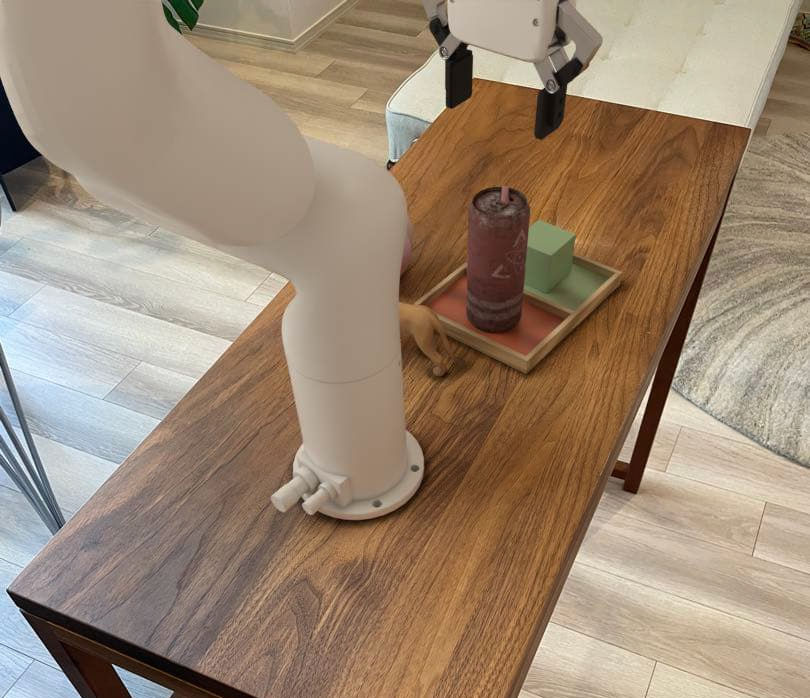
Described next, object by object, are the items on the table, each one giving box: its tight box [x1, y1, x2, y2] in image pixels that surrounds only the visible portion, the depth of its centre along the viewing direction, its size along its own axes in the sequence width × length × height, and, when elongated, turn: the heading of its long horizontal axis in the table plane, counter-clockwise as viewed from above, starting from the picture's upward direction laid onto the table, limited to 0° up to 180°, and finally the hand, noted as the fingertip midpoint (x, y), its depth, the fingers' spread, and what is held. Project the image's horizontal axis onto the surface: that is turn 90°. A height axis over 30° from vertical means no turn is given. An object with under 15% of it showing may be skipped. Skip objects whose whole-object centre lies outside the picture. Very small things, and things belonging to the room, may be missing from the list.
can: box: [466, 185, 531, 333], centre depth 87 cm, size 6×6×14 cm
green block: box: [524, 219, 577, 293], centre depth 95 cm, size 5×5×5 cm
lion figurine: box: [399, 300, 467, 378], centre depth 87 cm, size 15×5×9 cm, turn 72°
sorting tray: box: [412, 252, 623, 375], centre depth 94 cm, size 19×16×2 cm
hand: (501, 117), depth 75 cm, fingers open, 9 cm apart
